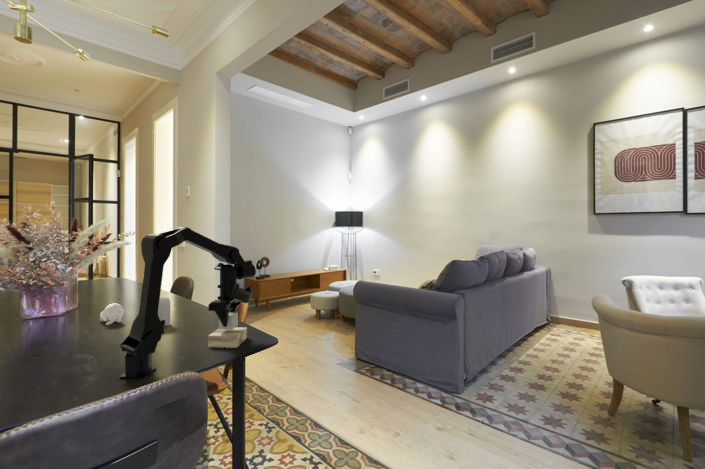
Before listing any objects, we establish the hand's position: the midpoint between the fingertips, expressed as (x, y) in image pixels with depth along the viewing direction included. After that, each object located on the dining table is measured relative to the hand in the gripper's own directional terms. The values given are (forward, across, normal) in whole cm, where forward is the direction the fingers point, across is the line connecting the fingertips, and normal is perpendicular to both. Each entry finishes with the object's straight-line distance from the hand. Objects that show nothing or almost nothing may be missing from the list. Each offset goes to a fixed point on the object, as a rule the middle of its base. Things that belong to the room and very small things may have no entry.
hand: (228, 324), depth 118 cm
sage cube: (+1, 0, 0) cm, 1 cm away
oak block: (+6, 0, 0) cm, 6 cm away
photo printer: (+7, +16, +37) cm, 41 cm away
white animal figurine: (+7, +20, +60) cm, 64 cm away
